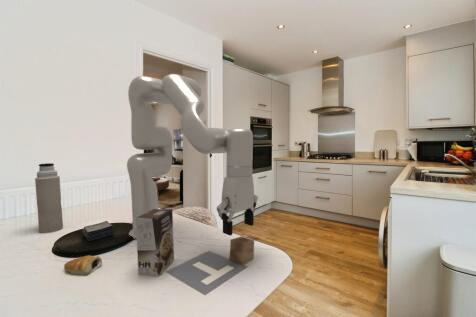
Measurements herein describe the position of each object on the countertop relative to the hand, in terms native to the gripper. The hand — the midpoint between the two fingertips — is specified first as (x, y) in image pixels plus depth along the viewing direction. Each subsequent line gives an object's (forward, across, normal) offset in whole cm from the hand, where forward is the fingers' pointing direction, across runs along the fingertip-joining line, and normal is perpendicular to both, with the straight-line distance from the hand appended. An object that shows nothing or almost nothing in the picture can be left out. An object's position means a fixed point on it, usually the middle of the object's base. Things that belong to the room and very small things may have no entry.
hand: (238, 229), depth 70 cm
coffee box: (+10, +18, -15) cm, 25 cm away
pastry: (+11, +31, -31) cm, 46 cm away
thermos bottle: (+13, +29, -79) cm, 85 cm away
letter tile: (+10, +10, -3) cm, 14 cm away
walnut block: (+9, 0, +1) cm, 9 cm away
